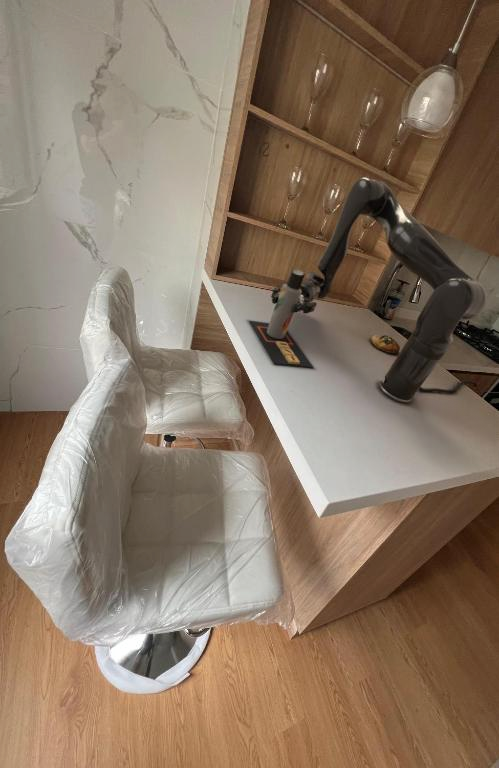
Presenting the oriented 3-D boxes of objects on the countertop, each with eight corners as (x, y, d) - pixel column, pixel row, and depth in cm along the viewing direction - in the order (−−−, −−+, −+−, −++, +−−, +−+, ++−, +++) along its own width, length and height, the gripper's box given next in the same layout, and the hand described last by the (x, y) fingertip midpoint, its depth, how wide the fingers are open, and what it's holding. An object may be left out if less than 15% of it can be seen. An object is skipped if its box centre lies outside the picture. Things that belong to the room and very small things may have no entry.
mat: (249, 321, 104) (250, 317, 104) (282, 326, 109) (283, 323, 108) (274, 364, 86) (276, 360, 86) (312, 368, 91) (314, 364, 90)
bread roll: (404, 355, 120) (410, 343, 117) (380, 356, 116) (385, 344, 113) (385, 340, 128) (390, 329, 126) (362, 341, 125) (366, 329, 122)
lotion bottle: (287, 336, 102) (311, 274, 91) (278, 341, 97) (303, 276, 86) (272, 328, 104) (294, 265, 92) (263, 332, 99) (285, 267, 88)
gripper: (287, 273, 106) (266, 282, 92) (327, 292, 102) (311, 303, 89) (279, 295, 110) (258, 306, 96) (317, 313, 107) (301, 327, 93)
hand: (284, 304), depth 93 cm, fingers closed on lotion bottle, 5 cm apart
